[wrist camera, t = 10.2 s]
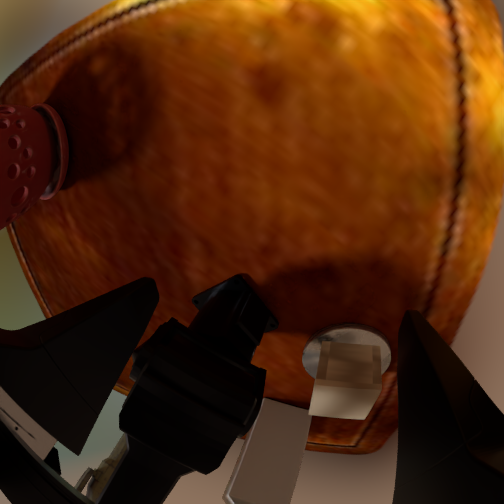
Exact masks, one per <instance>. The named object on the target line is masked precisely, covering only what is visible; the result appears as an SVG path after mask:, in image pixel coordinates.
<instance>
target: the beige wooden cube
mask: <svg viewBox="0 0 504 504" xmlns="http://www.w3.org/2000/svg"><path fill="white" fill-rule="evenodd" d="M381 390H382V378H381V350H380V346H375V345H362V344H350V343H339V342H329V341H322V344H321V350H320V356H319V362H318V367H317V372H316V378H315V383H314V389H313V394H312V399H311V404H310V409H309V413H308V415H315V416H324V417H334V418H345V419H361V420H365V418H366V417H367V415H368V413H369V412H370V410H371V408H372V406H373V405H374V403H375V401H376V399H377V398H378V396H379V394H380V392H381Z"/></svg>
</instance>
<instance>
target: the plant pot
mask: <svg viewBox="0 0 504 504" xmlns="http://www.w3.org/2000/svg"><path fill="white" fill-rule="evenodd" d="M68 161H69V146H68V138H67V134H66V130H65V127H64V124H63V122H62V119H61V117H60V116H59V114H58V113H57V112H56V110H55V109H54V108H52V107H51V106H49V105H48V104H44V103H38V104H35V105H33V106H32V107H31V108H28V107H25V106H21V105H0V230H1V229H3V228H4V227H6V226H7V225H9V224H10V223H12V222H13V221H15V220H16V219H18V218H19V217H20V216H21V215H23V214H24V213H25V212H26V211H27V210H29V209H30V208H31V207H32V206H33V205H34V204H35V203H36V201H37V200H38V199H39V198H41V199H50V198H52V197H53V196H54V195H55V194H56V193H57V192H58V191H59V190H60V188H61V186H62V185H63V182H64V180H65V177H66V173H67V168H68Z"/></svg>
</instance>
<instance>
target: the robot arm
mask: <svg viewBox="0 0 504 504" xmlns="http://www.w3.org/2000/svg"><path fill="white" fill-rule="evenodd" d="M236 280H238V281H239V282H237V281H236ZM158 302H159V293H158V289H157V286H156V283H155V280H154V279H153V278H148V277H143V278H140V279H138V280H136V281H133V282H131V283H129V284H126V285H124V286H122V287H119V288H117V289H115V290H112V291H110V292H108V293H105V294H103V295H101V296H98V297H96V298H94V299H92V300H89V301H87V302H85V303H83V304H80V305H78V306H76V307H73V308H71V309H70V310H67V311H64V312H62V313H60V314H58V315H55V316H53V317H50V318H48V319H45V320H43V321H40V322H38V323H35V324H32V325H30V326H27V327H24V328H22V329H19V330H12V331H11V330H4V329H1V328H0V489H1V491H2V492H3V493H4V495H5V496H6V497H7V499H8V500H9V501H10V502H11V503H12V504H163V502H164V501H165V499H166V498H167V496H168V495H169V493H170V492H171V491H172V489H173V488H174V486H175V484H176V483H177V482H178V480H179V479H180V477H181V476H184V475H186V474H189V473H192V472H194V471H198V472H200V473H202V474H205V475H207V474H209V473H210V472H212V471H214V470H215V469H217V468H218V467H219V466H220V465H221V463H222V461H223V459H224V458H225V456H226V454H227V452H228V450H229V449H230V447H231V446H232V444H233V443H234V441H235V440H236V438H237V437H238V438H241V437H243V436H244V435H245V434H246V433H247V432H248V431H249V430H250V428H251V427H252V425H253V424H254V422H255V420H256V419H257V416H258V414H259V412H260V409H261V405H262V400H263V393H264V386H265V379H266V372H267V370H265V369H263V368H258V367H257V366H255V365H253V364H251V360H252V357H253V355H254V352H255V350H256V347H257V346H259V345H260V342H261V339H262V337H263V334H264V333H265V332H268V331H271V330H274V329H277V328H278V325H279V322H278V320H277V319H276V318H275V317H274V316H273V314H272V313H271V311H270V310H269V309H268V308H267V307H266V305H265V304H264V303H263V302H262V300H261V299H260V298H259V297H258V296H257V294H256V293H255V292H254V291H253V290H252V289H251V287H250V286H249V285H248V284H247V282H246V281H245V280H244V279H243V277H241V276H240V275H234V276H232V277H231V278H229V279H227V280H225V281H223V282H221V283H219V284H217V285H215V286H213V287H211V288H209V289H207V290H205V291H203V292H201V293H199V294H197V295H195V296H194V297H193V299H192V302H193V304H194V305H195V306H196V307H197V308H198V309H199V312H198V313H197V315H196V316H195V318H194V319H193V321H192V322H191V324H190V325H189V327H188V328H187V327H186V326H184V325H182V324H181V323H179V322H178V320H176V319H175V318H173V317H172V318H171V319H170V320H169V321H168V322H165V323H164V324H163V325H160V326H159V327H158V329H157V330H156V331H155V333H154V334H153V335H152V336H151V337H150V338H149V339H148V340H147V341H146V342H144V343H143V344H142V345H140V346H139V347H138V348H136V346H137V344H138V343H139V341H140V339H141V337H142V336H143V334H144V332H145V330H146V328H147V326H148V323H149V321H150V319H151V317H152V315H153V312H154V310H155V308H156V306H157V304H158ZM272 323H273V324H272ZM274 324H275V325H274ZM135 348H136V349H135ZM134 349H135V350H134ZM133 351H134V352H133ZM132 353H133V354H132ZM131 355H132V358H133V362H134V363H133V366H132V370H131V373H130V379H132V380H133V381H135V383H134V385H133V387H132V389H131V391H130V392H129V394H128V396H127V398H126V400H125V402H124V404H123V406H122V410H121V412H120V414H119V428H120V430H121V431H123V432H124V433H125V437H126V444H127V449H126V450H125V452H124V454H123V456H122V457H121V459H120V461H119V462H118V464H117V466H116V468H115V469H114V471H113V473H112V475H111V476H110V478H109V480H108V481H107V483H106V485H105V487H104V488H103V490H102V492H101V494H100V495H99V497H98V499H97V501H96V502H95V503H94V502H93V501H91V500H90V499H88V498H87V497H86V496H84V495H83V494H82V493H80V492H79V491H78V490H77V489H75V488H74V487H73V486H71V485H70V484H69V483H68V482H67V481H65V480H64V479H63V478H62V477H61V476H60V475H61V469H60V463H59V456H58V450H57V449H56V448H55V447H54V445H55V443H56V442H57V441H59V442H60V443H61V444H63V445H64V446H65V447H66V448H68V449H69V450H71V451H72V452H73V453H75V454H76V455H77V456H79V454H80V453H81V451H82V449H83V447H84V445H85V443H86V441H87V438H88V436H89V434H90V432H91V430H92V428H93V426H94V424H95V422H96V420H97V418H98V416H99V414H100V412H101V410H102V408H103V406H104V404H105V402H106V400H107V399H108V397H109V395H110V393H111V391H112V389H113V387H114V386H115V384H116V382H117V380H118V378H119V376H120V375H121V373H122V371H123V369H124V367H125V365H126V364H127V362H128V360H129V358H130V357H131ZM397 384H398V453H397V454H398V455H397V468H396V479H395V490H394V496H393V503H392V504H504V414H503V413H502V412H501V411H500V410H499V408H498V407H497V406H496V405H495V404H494V403H493V401H492V400H491V399H490V398H489V397H488V395H487V394H486V393H485V391H484V390H483V388H482V387H481V386H480V384H479V383H478V382H477V380H474V377H473V375H472V374H471V373H470V371H469V370H468V369H467V368H466V367H465V366H464V364H463V363H462V361H461V360H460V359H459V358H458V356H457V355H456V354H455V353H454V351H453V350H452V349H451V348H450V347H449V345H448V344H447V343H446V342H445V341H444V339H443V338H442V337H441V336H440V335H439V334H438V332H437V331H436V330H435V329H434V328H433V327H432V326H431V324H430V323H429V322H428V321H427V320H426V319H425V318H424V317H423V315H422V314H421V313H420V312H419V311H417V310H407V311H406V312H405V314H404V317H403V320H402V322H401V325H400V328H399V332H398V365H397Z"/></svg>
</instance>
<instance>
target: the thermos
mask: <svg viewBox="0 0 504 504" xmlns="http://www.w3.org/2000/svg"><path fill="white" fill-rule="evenodd" d="M126 449H127V444H126V437H125V433H124V434H123V436H122V437H121V438H120V440H119V442H118V443H117V445H116V447H115V448H114V450H113V451H112V453H111V455H110V456H109V458H107V459H105V460H103V461H102V463H101V464H100V466H99V467H98V469H94V470H93V469H91V468H88V469H87V470H86V471H85V472H84V474H83V475H82V476H81V478H80V479H79V481H78V482H77V484H76V486H75V487H74V488H75V489H77V490H78V491H79V492H80V493H81V492H82V490H83V489H84V487H85V485H86V484H87V482H88V480H89V479H90V477H91V476H92V478H91V480H90V482H89V483H88V487H87V494H86V497H87V498H88V499H90V500H91V501H93V502H94V503H95V502H96V501H97V499H98V497H99V495H100V494H101V492H102V490H103V488H104V487H105V485H106V483H107V481H108V480H109V478H110V476H111V475H112V473H113V471H114V469H115V468H116V466H117V464H118V462H119V461H120V459H121V457H122V456H123V454H124V452H125V450H126Z"/></svg>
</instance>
